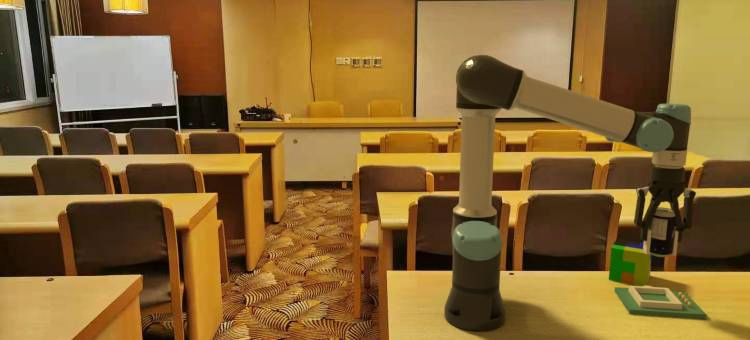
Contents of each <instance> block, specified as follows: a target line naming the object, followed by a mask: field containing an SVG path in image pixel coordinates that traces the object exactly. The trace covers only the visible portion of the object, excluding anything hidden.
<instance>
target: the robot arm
mask: <svg viewBox="0 0 750 340" xmlns="http://www.w3.org/2000/svg"><path fill="white" fill-rule="evenodd" d="M455 83H456V98H455V100H456V103H455V104H456V105H455V109H456V110H457V111H458V112H459V113H460V115H461V129H460V130H461V131H460V132H461V133H460V155H459V157H460V159H459V189H458V190H459V194H458V196H459V197H458V198H459V199H458V203H457V205H456V206H454V207H453V209H452V227H451V234H450V235H451V240H452V243H451V244H452V271H451V273H452V277H451V288H450V291H449V294H448V295H447V299H446V301H445V304H444V311H443V312H444V313H443V315H444V319H445V320H446V321H447V322H448V323H449V324H451V325H452V326H455V327H457V328H460V329H462V330H465V331H466V330H467V331H472V332H473V331H474V332H487V331H492V330H496V329H498V328H500V327H502V326H503V325H504V324H505V322H506V314H507V313H506V308H505V304H504V300H503V298H502V294H501V291H500V285H501V284H500V283H501V282H500V281H501V263H502V261H501V260H502V259H501V258H502V249H503V238H502V233H501V231H500V229H499V228H498V227H497V218H498V212H497V209H496V208H495V207H494V206H493V205H492V199H493V178H494V177H493V175H494V154H495V152H494V150H495V133H496V132H495V131H496V130H495V128H496V116H497V114H498V113H500V112H501V111H502V109H503V110H506V111H512V110H514V109H518V110H520V111H524V112H527V113H530V114H534V115H537V116H539V117H543V118H545V119H549V120H552V121H554V122H555V121H556V122H558V123H562V124H564V125H567V126H570V127H574V128H576V129H581V130H583V131H586V132H589V133H593V134H595V135H598V136H601V137H604V138H605V140H606V141H607V142H614V143H615V142H616V143H622V144H626V145H628V146H632V147H635V148H639V149H640V150H641V151H644V152H648V153H652V157H651V164H653V165H652V166H651V168H650V178H649V183H648V184H647V186H645V187H636V189H635V191H636V196H637V197H636V205H635V210H634V211H635V212H634V218H633V219H634V220H633V224H634V225H635V226H636V227H637V228H640V236H639V237H640V240H641V241H642V242H643V243H644V244H643V251H644V253H645V254H649V252H650V242H651V233H652V230H651V229H650V228H649V227H650V224H651V222H652V219H653V217H654V215H655V213H656V210H657V208H658V207H659V206H660V205H661V203H666V202H667V203H669V205H670V209H672V211H674V213H675V216H676V220H675V229H674V238H673V247H672V253H671V254H670V255H671V256H673V257H677V248H678V243H679V244H680V243H681V242H682V238H683V232H685V230H691V229H692V222H693V209H694V208H693V206H694V205H693V204H694V199H695V196H696V195H697V192H696V191H695V190H693V189H691V188H689V189H688V188H685V185H684V182H685V173H686V168H684V167H685V166H686V164H687V155H688V145H689V138H690V137H689V136H690V129H691V125H692V108H691V107H690V105H688V104H685V103H684V104H683V103H659V104H658V105H657V108H656V110H655V111H649V112H646V111H643V112H642V111H634V110H632V109H630V108H626V107H624V106H620V105H618V104H614V103H611V102H609V101H608V102H607V101H605V100H602V99H598V98H595V97H592V96H589V95H586V94H583V93H580V92H577V91H573V90H571V89H568V88H564V87H562V86H558V85H555V84H552V83H548V82H546V81H543V80H539V79H537V78H532V77H530V76H528V75H527V74H526V72H525V70H522V69H520V68H517V67H514V66H512V65H509V64H507V63H506V62H503V61H501V60H499V59H498V58H496V57H494V56H491V55H488V54H476V55H472V56H470V57H468V58H467V59H465V60H464V61H462V62H461V64H459V67H458V69H457V70H456V76H455ZM648 193H650V195H651V198H650V201H649V205H648V207H647V210H646V212H645V214H644V211H645V206H646V205H645V204H646V196H648ZM682 194H683V195H682ZM681 195H682V196H683V197H684V198H683V210H682V215H681V210H680V204H679V198H680V196H681Z"/></svg>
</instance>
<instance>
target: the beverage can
mask: <svg viewBox="0 0 750 340" xmlns="http://www.w3.org/2000/svg"><path fill="white" fill-rule="evenodd" d="M675 220H676V216H675V213H674V211H672V209H671V208H669V207H664V206H663V207H659V206H658V208H657V210H656V213H655V215H654V217H653V219H652V222H651V224H650V226H649V228H650V229H651V230H652V233H651V242H650V254H651V255H652V256H653V257H658V258H667V257H669V256H670V255H671V253H672V247H673V238H674V229H675Z"/></svg>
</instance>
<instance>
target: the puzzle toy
mask: <svg viewBox="0 0 750 340" xmlns="http://www.w3.org/2000/svg"><path fill="white" fill-rule="evenodd" d="M643 244H644V241H642V242H641V241H635V240H629V239H623V238H616V239H615V241H614V242H613V244H612V245H611V249H610V260H609V270H608V271H609V272H608V280H609V281H612V282H617V283H622V284H629V285H632V286H642V287H643V286H648V282H649V280H650V277H651V269H652V258H653V255H651V254H650V252H649V254H645V253H644V251H643Z"/></svg>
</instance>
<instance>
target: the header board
mask: <svg viewBox="0 0 750 340" xmlns="http://www.w3.org/2000/svg"><path fill="white" fill-rule="evenodd" d="M614 293H615V294H616V295H617V297H618V299H619V300H620V302H621V303H622V305H623V306H624V308H625V310H626V311H627V312H628V314H629V315H640V316H641V315H642V316H658V317H669V318H670V317H672V318H685V319H686V318H687V319H698V320H699V319H702V320H707V315H708V314H707V313H706V312H705V311H704V310H703V309H702V308H701V307H700V306H699V305H698V304H697V303H696V302H695V301H694V300H693V299H692V298H691V296H690V295H689V294H688V293H687V292H685V291H684V290H671V289H669V288H668V287H660V286H659V287H657V286H656V287H655V286H652V285H647V286H638V285H628V287H621V286H620V287H617V286H615V287H614Z"/></svg>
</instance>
